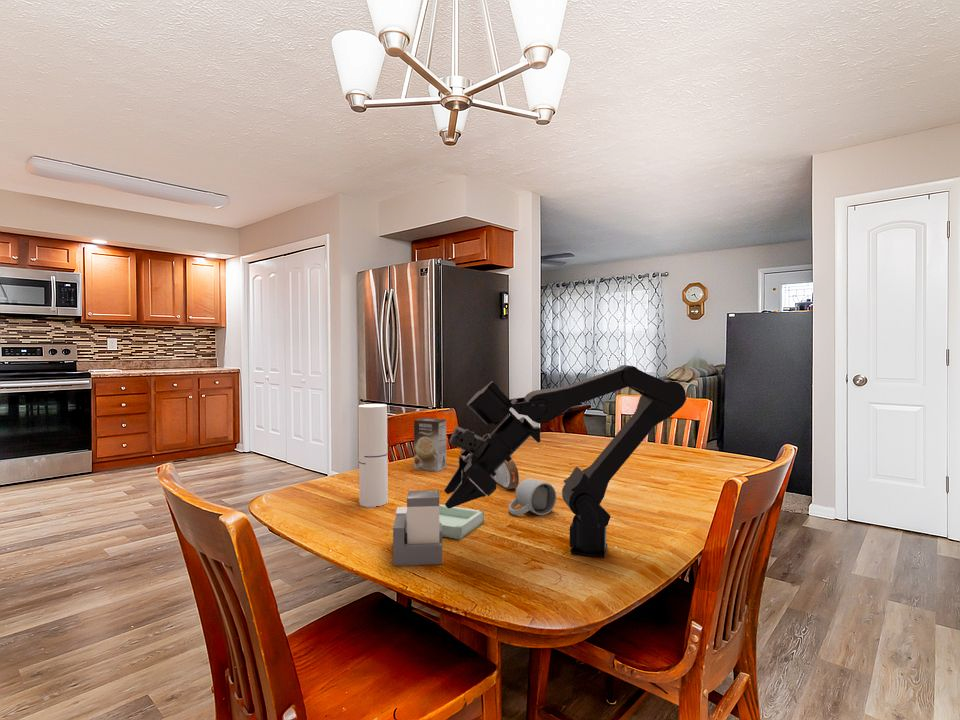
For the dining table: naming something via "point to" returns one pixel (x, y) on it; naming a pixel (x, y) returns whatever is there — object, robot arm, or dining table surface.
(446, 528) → the tray
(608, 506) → the dining table surface
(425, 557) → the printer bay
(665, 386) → the robot arm
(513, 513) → the ceramic mug
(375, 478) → the cylindrical container
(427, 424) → the coffee box
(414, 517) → the block
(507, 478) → the tin
